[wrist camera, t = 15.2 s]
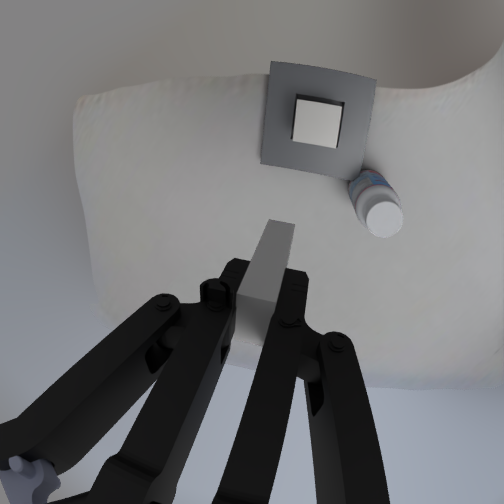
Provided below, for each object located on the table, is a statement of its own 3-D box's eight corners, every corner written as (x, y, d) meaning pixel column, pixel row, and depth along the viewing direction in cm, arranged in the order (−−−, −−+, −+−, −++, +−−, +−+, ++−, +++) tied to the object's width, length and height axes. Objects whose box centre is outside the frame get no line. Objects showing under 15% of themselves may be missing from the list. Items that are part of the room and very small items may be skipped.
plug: (301, 99, 33) (297, 99, 27) (337, 105, 33) (341, 106, 26) (298, 133, 36) (292, 141, 30) (333, 139, 35) (335, 148, 29)
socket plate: (273, 63, 32) (270, 61, 30) (373, 80, 30) (376, 79, 28) (263, 160, 40) (260, 163, 38) (356, 177, 38) (357, 182, 36)
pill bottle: (393, 190, 37) (418, 222, 28) (364, 214, 40) (379, 252, 31) (369, 160, 36) (390, 184, 26) (339, 186, 39) (349, 218, 29)
